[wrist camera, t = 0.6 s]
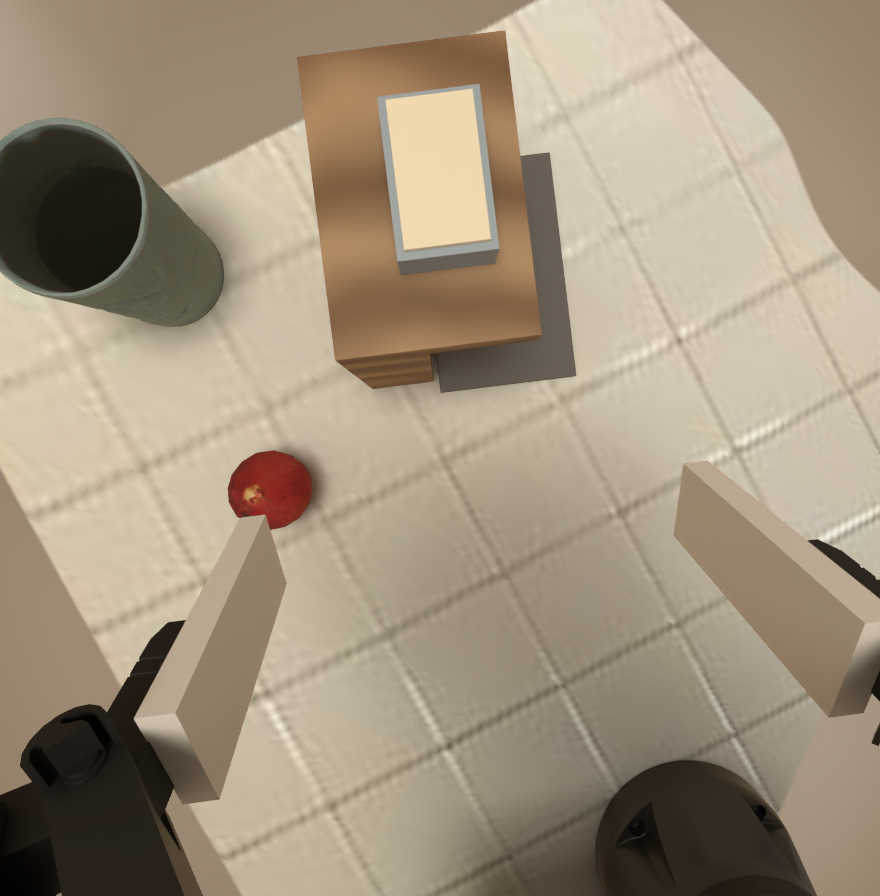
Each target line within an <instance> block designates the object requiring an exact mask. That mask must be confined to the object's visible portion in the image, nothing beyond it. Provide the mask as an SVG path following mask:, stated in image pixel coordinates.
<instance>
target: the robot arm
mask: <svg viewBox="0 0 880 896" xmlns="http://www.w3.org/2000/svg"><path fill="white" fill-rule="evenodd" d="M674 536H675V537H676V539H677V540H678V541H679V542H680V543H681V544H682V546H683V547H684V548H685V549H686V550H687V551H688V553H689V554H690V555H691V556H692V557H693V558H694V560H695V561H696V562H697V563H698V564H699V566H700V567H701V568H702V569H703V570H704V571H705V573H706V574H707V575H708V576H709V577H710V578H711V580H712V581H713V582H714V583H715V584H716V586H717V587H718V588H719V589H720V590H721V591H722V593H723V594H724V595H725V596H726V597H727V598H728V600H729V601H730V602H731V603H732V604H733V606H734V607H735V608H736V609H737V610H738V611H739V613H740V614H741V615H742V616H743V617H744V618H745V620H746V621H747V622H748V623H749V624H750V625H751V627H752V628H753V629H754V630H755V631H756V633H757V634H758V635H759V636H760V637H761V638H762V640H763V641H764V642H765V643H766V644H767V645H768V647H769V648H770V649H771V650H772V651H773V653H774V654H775V655H776V656H777V657H778V658H779V660H780V661H781V662H782V663H783V664H784V665H785V667H786V668H787V669H788V670H789V671H790V673H791V674H792V675H793V676H794V677H795V678H796V680H797V681H798V682H799V683H800V684H801V685H802V687H803V688H804V689H805V690H806V691H807V692H808V694H809V695H810V696H811V697H812V698H813V700H814V701H815V702H816V703H817V704H818V705H819V707H820V708H821V709H822V710H823V711H824V712H825V714H826V715H827V716H828V717H837V716H844V715H851V714H859V713H864V710H865V708H866V706H867V703H868V701H869V699H870V696H871V694H873V695H874V696H875V697H876V698H877V699H878V700H879V701H880V580H876V578H875V576H874V575H872V574H871V573H870V572H869V571H867V570H866V569H865V568H861V567H860V565H859V564H858V563H857V562H855V561H854V560H853V559H852V558H850V557H849V556H848V555H846V554H845V553H844V552H842V551H841V550H839V549H837V548H835V547H832V546H830V545H828V544H826V543H824V542H822V541H820V540H818V539H816V540H808V541H807V540H806V539H804V538H803V537H802V536H801V535H799V534H798V533H797V532H796V531H795V530H793V529H792V528H791V527H790V526H788V525H787V524H786V523H785V522H783V521H782V520H781V519H780V518H778V517H777V516H776V515H775V514H773V513H772V512H771V511H770V510H768V509H767V508H766V507H765V506H763V505H762V504H761V503H760V502H758V501H757V500H756V499H755V498H753V497H752V496H751V495H750V494H748V493H747V492H746V491H745V490H743V489H742V488H741V487H740V486H738V485H737V484H736V483H735V482H733V481H732V480H731V479H730V478H728V477H727V476H726V475H725V474H723V473H722V472H721V471H720V470H718V469H717V468H716V467H715V466H713V465H712V464H711V463H710V462H708V461H702V462H694V463H685V464H684V465H683V472H682V480H681V487H680V494H679V501H678V509H677V516H676V523H675V530H674ZM286 584H287V583H286V580H285V577H284V574H283V570H282V567H281V564H280V560H279V557H278V554H277V551H276V547H275V544H274V541H273V538H272V534H271V531H270V528H269V524H268V521H267V518H266V515H258V516H250V517H242V518H240V520H239V522H238V524H237V525H236V527H235V529H234V531H233V533H232V535H231V537H230V539H229V540H228V542H227V544H226V546H225V548H224V550H223V552H222V554H221V555H220V557H219V559H218V561H217V563H216V565H215V567H214V569H213V571H212V572H211V574H210V576H209V578H208V580H207V582H206V584H205V586H204V587H203V589H202V591H201V593H200V595H199V597H198V599H197V601H196V602H195V604H194V606H193V608H192V610H191V612H190V614H189V616H188V617H187V619H186V620H183V621H175V622H168V623H167V624H166V625H165V626H164V627H163V628H162V629H161V630H160V631H159V632H157V633H156V634H155V635H154V636H153V637H152V638H151V639H150V641H149V642H148V644H147V646H146V647H145V649H144V651H143V653H142V654H141V656H140V658H139V662H137V663H136V664H135V666H134V668H133V669H132V671H131V673H130V677H128V678H127V680H126V681H125V683H124V685H123V686H122V688H121V690H120V691H119V693H118V695H117V696H116V698H115V700H114V701H113V703H112V705H111V707H110V708H109V710H108V712H106V711H105V710H104V709H103V708H102V707H101V706H98V705H90V704H88V705H84V706H79V707H75V708H73V709H71V710H68V711H66V712H64V713H62V714H60V715H58V716H57V717H55V718H54V719H53V720H51V721H50V722H49V723H47V724H46V725H44V726H43V727H42V728H41V729H40V730H39V731H38V732H37V733H36V734H35V735H34V736H33V737H32V739H31V740H30V741H29V743H28V744H27V746H26V748H25V749H24V751H23V753H22V756H21V763H20V767H21V768H22V769H23V770H24V772H25V773H26V774H27V775H28V777H29V778H30V779H31V781H32V782H31V783H29V784H26V785H24V786H21V787H19V788H17V789H14V790H12V791H9V792H7V793H4V794H2V795H0V896H56V895H57V894H58V893H62V896H203V895H202V892H201V890H200V888H199V885H198V883H197V881H196V878H195V876H194V874H193V871H192V869H191V866H190V864H189V862H188V859H187V857H186V855H185V852H184V850H183V847H182V845H181V843H180V840H179V838H178V836H177V833H176V831H175V829H174V826H173V824H172V821H171V819H170V817H169V815H168V813H167V812H166V810H165V808H166V806H167V803H168V801H169V798H170V796H171V793H172V791H173V788H174V790H175V792H176V793H177V795H178V797H179V799H180V800H181V802H182V804H189V803H196V802H203V801H211V800H218V799H220V796H221V792H222V789H223V786H224V783H225V780H226V776H227V773H228V770H229V767H230V763H231V760H232V757H233V754H234V751H235V747H236V744H237V741H238V738H239V735H240V731H241V728H242V725H243V722H244V719H245V715H246V712H247V709H248V706H249V703H250V699H251V696H252V693H253V690H254V687H255V683H256V680H257V677H258V674H259V671H260V667H261V664H262V661H263V658H264V655H265V651H266V648H267V645H268V642H269V638H270V635H271V632H272V629H273V626H274V622H275V619H276V616H277V613H278V610H279V606H280V603H281V600H282V597H283V594H284V590H285V587H286ZM879 743H880V724H879V726H878V728H877V730H876V732H875V734H874V737H873V740H872V744H875V745H877V746H879ZM596 862H597V869H598V873H599V877H600V880H601V883H602V886H603V889H604V892H605V894H606V896H817V895H816V893H815V890H814V888H813V886H812V884H811V882H810V879H809V877H808V875H807V873H806V871H805V868H804V866H803V864H802V862H801V860H800V857H799V855H798V853H797V851H796V849H795V846H794V844H793V842H792V840H791V838H790V835H789V833H788V831H787V830H786V828H785V826H784V825H783V823H782V822H781V820H780V819H779V817H778V816H777V814H776V813H775V812H774V811H773V809H772V808H771V807H770V806H769V805H768V804H767V803H766V802H765V800H764V799H763V798H762V797H761V796H760V795H759V794H758V793H757V792H756V790H755V789H754V788H753V787H752V786H750V785H749V784H748V783H747V782H746V781H744V780H743V779H742V778H740V777H739V776H737V775H736V774H734V773H732V772H730V771H728V770H726V769H724V768H721V767H718V766H715V765H712V764H707V763H702V762H691V761H689V762H675V763H669V764H665V765H661V766H658V767H655V768H653V769H650V770H648V771H646V772H644V773H643V774H641V775H639V776H638V777H636V778H635V779H633V780H632V781H631V782H629V783H628V784H627V785H626V786H625V787H624V788H623V789H622V790H621V791H620V792H619V793H618V794H617V795H616V797H615V798H614V799H613V801H612V802H611V804H610V805H609V807H608V809H607V810H606V812H605V814H604V817H603V819H602V822H601V825H600V828H599V832H598V836H597V843H596Z"/></svg>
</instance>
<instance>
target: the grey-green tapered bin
mask: <svg viewBox="0 0 880 896" xmlns="http://www.w3.org/2000/svg"><path fill="white" fill-rule="evenodd" d="M0 272H1V273H2V274H3V275H4V276H5V277H7V278H8V279H10V280H11V281H12V282H14V283H15V284H16V285H18V286H20V287H22V288H23V289H25V290H27V291H30V292H32V293H34V294H37V295H41V296H44V297H49V298H53V299H58V300H62V301H67V302H71V303H75V304H80V305H83V306H87V307H91V308H96V309H103V310H105V311H108V312H112V313H116V314H120V315H124V316H127V317H133V318H136V319H140V320H142V321H146V322H150V323H153V324H157V325H162V326H181V325H185V324H189V323H192V322H194V321H196V320H198V319H200V318H201V317H203V316H204V315H205V314H206V313H207V312H209V311H210V309H211V308H212V307H213V306H214V304H215V303H216V301H217V300H218V297H219V295H220V293H221V289H222V285H223V278H224V272H223V266H222V261H221V259H220V254H219V252H218V251H217V249H216V247H215V246H214V244H213V242H212V241H211V240H210V239H209V238H208V236H207V235H206V234H205V233H204V232H203V231H202V230H201V229H200V228H199V227H198V226H196V225H195V224H194V222H193V221H192V220H191V219H190V218H189V217H188V216H187V214H186V213H185V212H184V211H183V210H182V209H181V208H180V207H179V206H178V205H177V204H176V203H175V202H174V201H173V200H172V199H171V197H170V196H169V195H168V194H167V193H166V192H165V191H164V190H163V189H162V188H160V187H159V186H158V185H157V184H156V182H155V181H154V180H153V179H152V178H151V177H150V176H149V175H148V173H147V172H146V171H145V170H144V169H143V168H142V167H141V166H140V164H139V163H138V162H137V161H136V160H135V159H134V158H133V157H132V155H131V154H130V153H129V152H128V151H127V150H126V149H125V148H124V147H123V146H122V145H121V144H120V143H119V142H118V141H117V140H116V139H115V138H114V137H113V136H111V135H110V134H108V133H107V132H105V131H104V130H102V129H100V128H98V127H96V126H94V125H92V124H89V123H86V122H83V121H79V120H73V119H66V118H51V119H44V120H37V121H34V122H31V123H28V124H25V125H23V126H21V127H19V128H17V129H16V130H14V131H12V132H11V133H9V134H8V135H7V136H5V137H4V138H3V139H2V140H0Z"/></svg>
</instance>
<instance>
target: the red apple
mask: <svg viewBox="0 0 880 896" xmlns="http://www.w3.org/2000/svg"><path fill="white" fill-rule="evenodd" d="M311 494H312V484H311V477H310V475H309V473H308V472H307V470H306V468H305V467H304V465H303V464H302V463H301V462H299V461H298V460H297V459H295V458H294V457H293V456H290V455H287V454H284V453H281V452H277V451H267V452H259V453H255V454H254V455H252V456H250V457H249V458H247V459H246V460H244V461H242V462H241V464H240V465H239V466H238V467H237V469H236V470H235V471H234V473H233V474H232V476H231V479H230V483H229V486H228V497H229V503H230V505H231V507H232V509H233V511H234V512H235V514H236V516H237V517H239V518H242V517H250V516H258V515H266V518H267V521H268V524H269V528H270V530H272V529H277V528H282V527H285V526H287V525H289V524H290V523H292V522H293V521H295V520H297V519H298V518H300V516H301V515H302V513H303V512H304V510H305V509H306V507H307V506H308V504H309V502H310V498H311Z"/></svg>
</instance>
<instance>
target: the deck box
mask: <svg viewBox="0 0 880 896" xmlns="http://www.w3.org/2000/svg"><path fill="white" fill-rule="evenodd" d="M377 101H378V109H379V118H380V126H381V134H382V142H383V150H384V158H385V166H386V174H387V182H388V190H389V198H390V206H391V214H392V222H393V230H394V238H395V246H396V254H397V262H398V266H399V270H400V274H401V276H402V275H410V274H418V273H426V272H433V271H441V270H449V269H457V268H465V267H473V266H481V265H489V264H495V262H496V259H497V255H498V252H499V241H498V233H497V224H496V216H495V208H494V200H493V192H492V183H491V175H490V167H489V159H488V150H487V142H486V134H485V126H484V118H483V109H482V101H481V93H480V85H479V84H474V85H466V86H458V87H450V88H443V89H435V90H427V91H419V92H411V93H403V94H396V95H388V96H380V97H377Z"/></svg>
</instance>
